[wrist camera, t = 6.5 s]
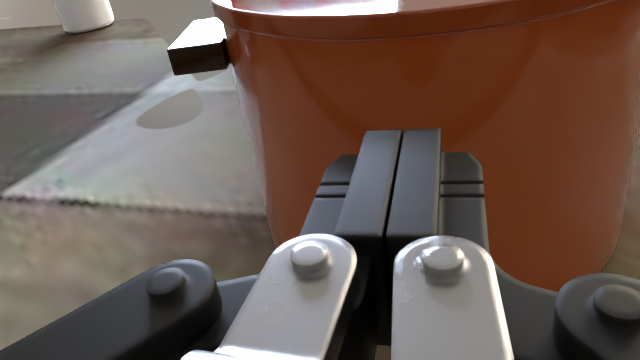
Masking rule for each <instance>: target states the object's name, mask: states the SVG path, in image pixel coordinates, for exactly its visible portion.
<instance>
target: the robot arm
mask: <svg viewBox="0 0 640 360" xmlns="http://www.w3.org/2000/svg"><path fill="white" fill-rule="evenodd" d="M320 184H321V185H320V186H319V187H318V190H317V193H316V198H314V200H313V203H312V205H311V208H310V210H309V213H308V215H307V218H306V220H305V223H304V225H303V228H302V230H301V233H300V236H299V237H297V238H294V239H291V240H289V241H287V242H285V243H284V244H282V245H281V246H279V247H278V248H277V249H276V250H275V251H274V252H273V253H272V254H271V255H270V257H269V258H268V260H267V262H266V264H265V265H264V267H263V269H262V271H261V273H258V274H255V275H251V276H247V277H242V278H237V279H232V280H227V281H222V282H217V283H216V280H215V277H214V274H213V272H212V270H211V268H210V267H209V266H208V265H206V264H205V263H203V262H200V261H197V260H191V259H180V260H174V261H169V262H165V263H162V264H160V265H157V266H155V267H153V268H151V269H149V270H147V271H145V272H143V273H142V274H140V275H138V276H136V277H134V278H132V279H131V280H129V281H127V282H125V283H123V284H121V285H120V286H118V287H116V288H114V289H112V290H111V291H109V292H107V293H105V294H103V295H101V296H100V297H98V298H96V299H94V300H92V301H90V302H89V303H87V304H85V305H83V306H81V307H79V308H78V309H76V310H74V311H72V312H70V313H68V314H67V315H65V316H63V317H61V318H59V319H57V320H56V321H54V322H52V323H50V324H48V325H47V326H45V327H43V328H41V329H39V330H37V331H36V332H34V333H32V334H30V335H28V336H26V337H25V338H23V339H21V340H19V341H17V342H15V343H14V344H12V345H10V346H8V347H6V348H4V349H3V350H1V351H0V360H375V354H376V347H377V345H386V346H391V360H640V280H639V279H635V278H632V277H629V276H624V275H619V274H610V273H594V274H587V275H583V276H579V277H576V278H574V279H572V280H570V281H569V282H567V283H566V284H564V285H563V287H562V288H561V289H560V290H559V292H555V291H551V290H547V289H543V288H539V287H536V286H532V285H529V284H526V283H524V282H521V281H519V280H517V279H515V278H513V277H511V276H510V275H508V274H507V273H506V272H504V271H503V270H502V269H501V268H500V267H499V266H498V265H497V264H496V263H495V262H494V260H493V259H492V256H491V254H490V251H489V243H488V231H487V220H486V208H485V198H484V185H483V174H482V165H481V164H480V163H479V162H478V160H477V159H476V158H475V157H474V156H473V155H472V154H471V153H470V152H443V151H442V128H428V129H405V130H404V135H403V130H375V131H366V132H365V135H364V139H363V142H362V145H361V148H360V151H359V154H355V155H340V156H339V157H338V158H337V159H336V160H335V161H334V162H332V163H331V164H330V165H329V166H328V167H327V168H326V170H325V172H324V175H323V177H322V180H321V182H320Z"/></svg>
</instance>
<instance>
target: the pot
mask: <svg viewBox="0 0 640 360" xmlns="http://www.w3.org/2000/svg"><path fill="white" fill-rule="evenodd" d="M210 4H211V8H212V12H213V14H214V15H215V17H216V18H211V19H204V20H196V21H194V22H192V24H191V25H190V26H189V27H188V28H187V29H186V30H185V31H184V32H183V33H182V34H181V35H180V36H179V38H178V39H177V40H176V41H175V42H174V43H173V44H172V45H171V46H170V47H169V48H168V49H167V52H168V55H169V59H170V62H171V65H172V69H173V72H174V75H184V74H192V73H200V72H207V71H216V70H223V69H227V68H228V66H229V64H230V63H231V68H232V72H233V76H234V80H235V85H236V89H237V93H238V97H239V102H240V106H241V110H242V114H243V119H244V123H245V127H246V131H247V136H248V140H249V144H250V148H251V153H252V157H253V161H254V165H255V170H256V174H257V178H258V182H259V187H260V191H261V195H262V199H263V204H264V208H265V212H266V216H267V221H268V225H269V229H270V233H271V238H272V241H273V244H274V247H275V250H276V249H277V248H278V247H279V246H281V245H282V244H284V243H285V242H287V241H289V240H291V239H294V238H297V237H299V236H300V233H301V230H302V228H303V225H304V223H305V220H306V218H307V215H308V213H309V210H310V208H311V205H312V203H313V200H314V198H316V193H317V190H318V187H319V186H320V185H321V184H320V182H321V180H322V177H323V175H324V172H325V170H326V168H327V167H328V166H329V165H330V164H331V163H332V162H334V161H335V160H336V159H337V158H338V157H339V156H340V155H355V154H359V151H360V148H361V145H362V142H363V139H364V135H365V132H366V131H375V130H403V135H404V130H405V129H428V128H442V151H443V152H470V153H471V154H472V155H473V156H474V157H475V158H476V159H477V160H478V162H479V163H480V164H481V165H482V174H483V185H484V198H485V208H486V220H487V231H488V243H489V251H490V254H491V256H492V259H493V260H494V262H495V263H496V264H497V265H498V266H499V267H500V268H501V269H502V270H503V271H504V272H506V273H507V274H508V275H510V276H511V277H513V278H515V279H517V280H519V281H521V282H524V283H526V284H529V285H532V286H536V287H539V288H543V289H547V290H551V291H555V292H559V290H560V289H561V288H562V287H563V285H564V284H566V283H567V282H569V281H570V280H572V279H574V278H576V277H579V276H583V275H587V274H594V273H599V272H600V271H601V270H602V269H603V268H604V266H605V265H606V263H607V262H608V260H609V259H610V257H611V256H612V254H613V253H614V250H615V248H616V245H617V243H618V240H619V236H620V231H621V226H622V220H623V215H624V209H625V204H626V199H627V193H628V188H629V183H630V177H631V172H632V166H633V161H634V156H635V150H636V145H637V140H638V134H639V129H640V0H210Z"/></svg>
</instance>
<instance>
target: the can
mask: <svg viewBox="0 0 640 360" xmlns="http://www.w3.org/2000/svg"><path fill="white" fill-rule="evenodd" d="M52 1H53V4H54V6H55V8H56V11H57V14H58V16H59V19H60V21H61V24H62V26H63V29H64V30H65V31H67V32H68V33H72V34H75V33H84V32H89V31H93V30H97V29H100V28H103V27H106V26H108V25H110V24H112V23H113V20H114V16H113V13H112V10H111V7H110V4H109V0H52Z"/></svg>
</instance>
